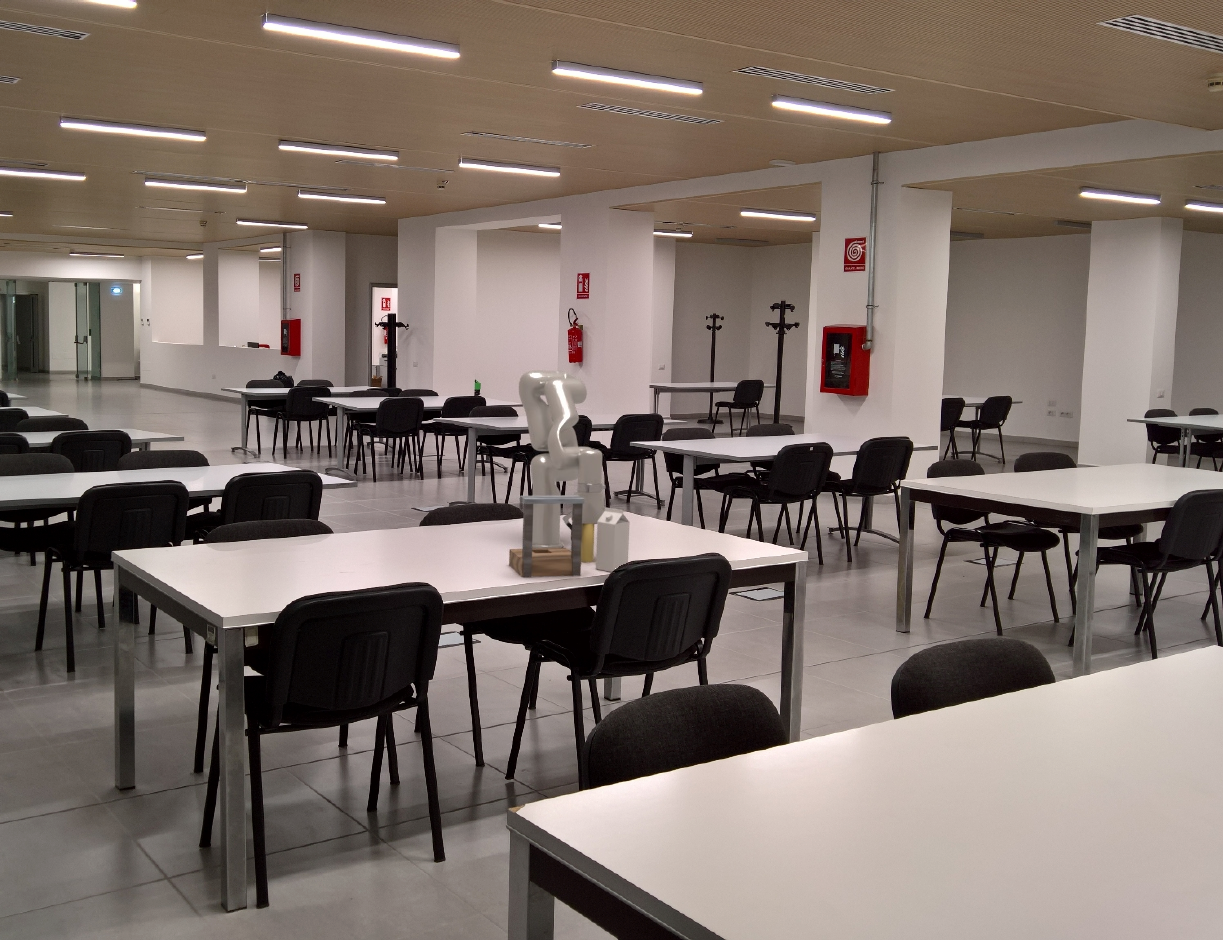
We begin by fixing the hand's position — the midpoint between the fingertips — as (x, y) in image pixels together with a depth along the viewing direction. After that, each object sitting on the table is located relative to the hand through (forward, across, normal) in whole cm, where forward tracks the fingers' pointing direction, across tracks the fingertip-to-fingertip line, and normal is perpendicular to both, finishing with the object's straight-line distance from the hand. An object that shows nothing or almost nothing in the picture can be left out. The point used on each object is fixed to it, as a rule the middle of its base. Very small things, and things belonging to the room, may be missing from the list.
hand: (587, 542), depth 358 cm
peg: (+6, 0, 0) cm, 6 cm away
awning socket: (+6, +17, +12) cm, 22 cm away
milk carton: (+6, -4, +14) cm, 16 cm away
